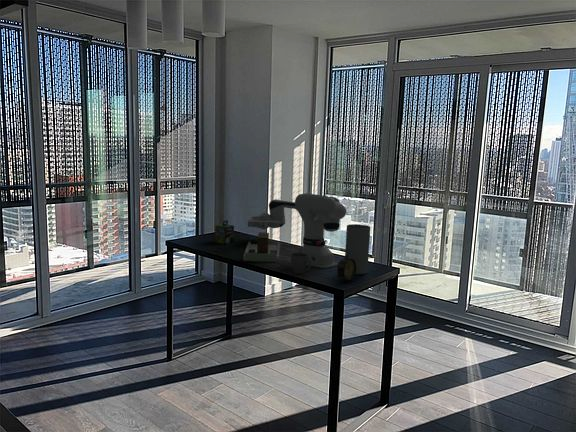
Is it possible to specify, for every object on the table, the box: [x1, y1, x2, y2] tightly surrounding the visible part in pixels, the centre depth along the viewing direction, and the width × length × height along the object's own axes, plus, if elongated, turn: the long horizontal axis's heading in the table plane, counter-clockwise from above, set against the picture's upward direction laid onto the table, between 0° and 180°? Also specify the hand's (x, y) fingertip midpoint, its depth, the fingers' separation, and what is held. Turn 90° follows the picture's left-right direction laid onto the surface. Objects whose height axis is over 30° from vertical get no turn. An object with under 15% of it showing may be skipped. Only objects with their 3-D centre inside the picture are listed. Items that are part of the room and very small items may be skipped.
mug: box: [290, 252, 312, 275], centre depth 256 cm, size 12×9×10 cm
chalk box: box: [214, 219, 235, 245], centre depth 320 cm, size 9×9×15 cm
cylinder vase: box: [344, 223, 371, 275], centre depth 261 cm, size 12×12×25 cm
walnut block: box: [256, 232, 270, 254], centre depth 285 cm, size 14×6×12 cm, turn 0°
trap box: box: [242, 241, 281, 263], centre depth 294 cm, size 36×20×4 cm, turn 0°
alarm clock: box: [336, 250, 356, 284], centre depth 243 cm, size 11×5×16 cm, turn 138°
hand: (263, 225), depth 303 cm, fingers closed
